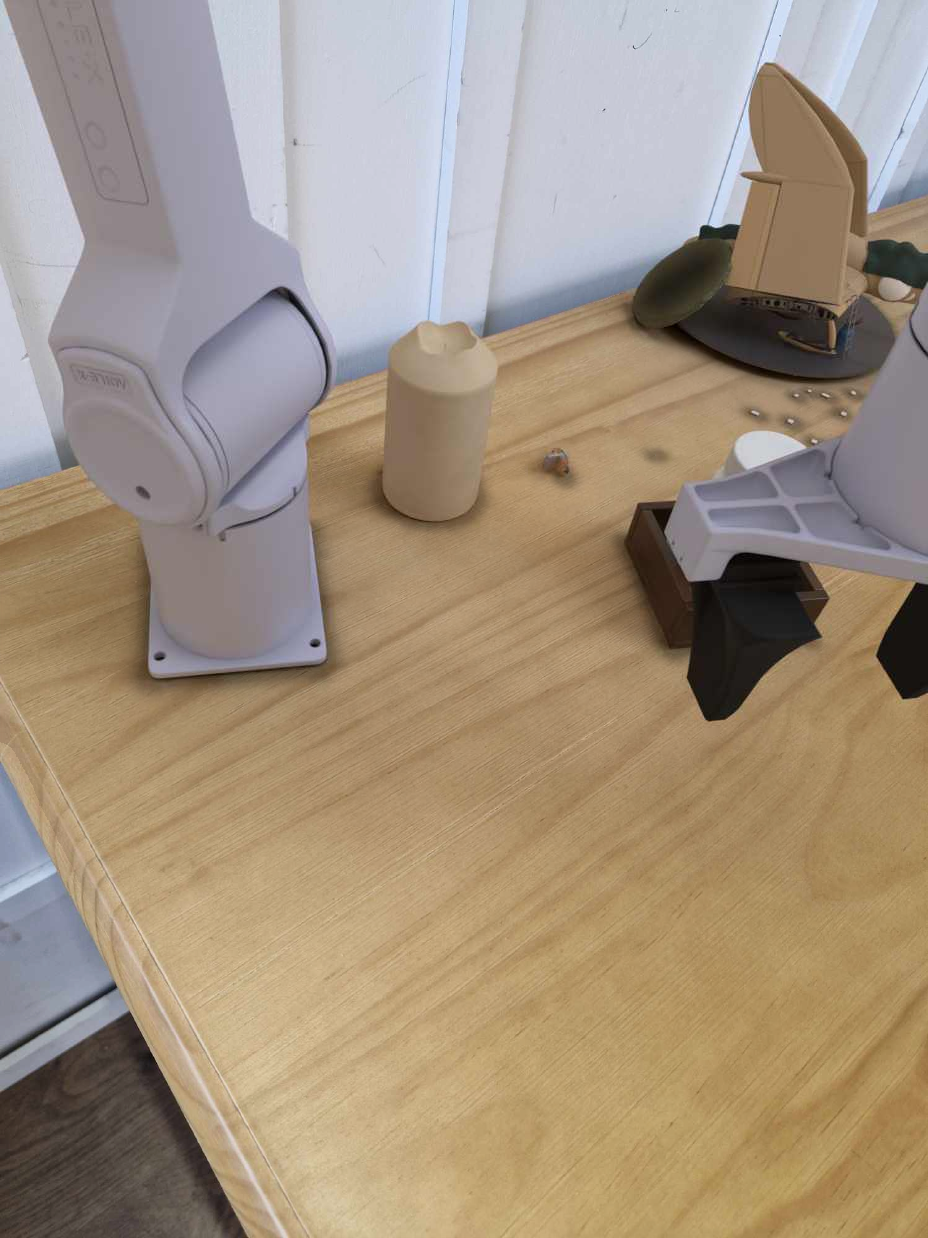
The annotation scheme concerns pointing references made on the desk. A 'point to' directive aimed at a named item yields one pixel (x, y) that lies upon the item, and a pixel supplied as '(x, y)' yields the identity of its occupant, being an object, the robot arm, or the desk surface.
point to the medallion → (682, 282)
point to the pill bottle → (754, 455)
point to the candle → (437, 420)
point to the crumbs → (797, 397)
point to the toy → (805, 248)
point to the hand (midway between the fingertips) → (803, 686)
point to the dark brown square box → (669, 582)
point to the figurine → (557, 461)
